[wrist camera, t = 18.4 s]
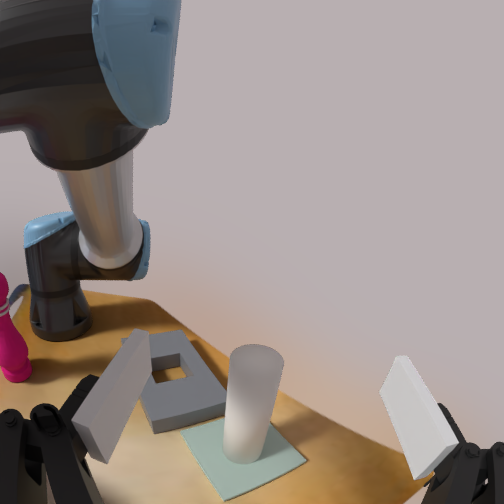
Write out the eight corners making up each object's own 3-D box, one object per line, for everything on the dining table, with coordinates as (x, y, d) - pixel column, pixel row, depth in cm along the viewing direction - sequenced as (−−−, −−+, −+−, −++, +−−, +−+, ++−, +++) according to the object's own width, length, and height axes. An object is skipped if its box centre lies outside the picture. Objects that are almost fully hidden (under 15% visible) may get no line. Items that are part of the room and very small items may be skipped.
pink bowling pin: (31, 385, 30) (-3, 270, 25) (-2, 383, 27) (-39, 270, 21) (37, 359, 36) (13, 253, 31) (6, 358, 33) (-21, 254, 28)
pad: (180, 433, 31) (180, 431, 31) (255, 409, 38) (255, 407, 37) (223, 501, 22) (224, 500, 21) (305, 462, 28) (306, 460, 28)
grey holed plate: (122, 351, 46) (120, 338, 45) (181, 342, 52) (181, 329, 52) (154, 434, 30) (151, 421, 29) (231, 412, 37) (232, 399, 36)
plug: (215, 442, 30) (220, 351, 25) (248, 430, 33) (263, 339, 28) (235, 470, 26) (248, 384, 21) (269, 455, 29) (294, 366, 24)
